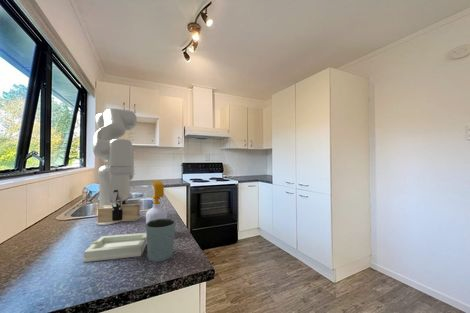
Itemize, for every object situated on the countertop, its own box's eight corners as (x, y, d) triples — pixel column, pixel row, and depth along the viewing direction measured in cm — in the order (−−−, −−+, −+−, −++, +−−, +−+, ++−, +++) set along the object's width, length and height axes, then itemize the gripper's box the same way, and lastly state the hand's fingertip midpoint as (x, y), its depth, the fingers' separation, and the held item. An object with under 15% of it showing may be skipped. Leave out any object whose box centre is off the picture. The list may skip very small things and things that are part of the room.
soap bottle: (161, 229, 98) (161, 179, 98) (170, 234, 91) (170, 181, 91) (142, 234, 91) (143, 181, 92) (150, 240, 85) (150, 182, 85)
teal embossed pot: (161, 247, 78) (161, 216, 78) (181, 252, 73) (181, 220, 74) (138, 259, 69) (139, 224, 69) (160, 265, 64) (160, 228, 64)
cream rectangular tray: (101, 243, 81) (101, 234, 81) (148, 239, 85) (148, 231, 85) (82, 262, 67) (83, 251, 67) (140, 255, 71) (141, 245, 71)
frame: (104, 218, 77) (104, 205, 78) (140, 215, 81) (140, 203, 81) (97, 222, 72) (97, 208, 72) (136, 220, 75) (136, 206, 75)
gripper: (117, 170, 84) (117, 212, 84) (100, 172, 67) (99, 225, 67) (136, 169, 86) (136, 211, 85) (124, 172, 69) (124, 224, 69)
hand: (120, 217), depth 76 cm, fingers closed on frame, 6 cm apart
